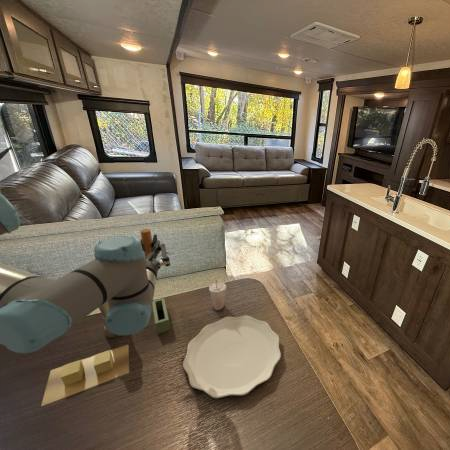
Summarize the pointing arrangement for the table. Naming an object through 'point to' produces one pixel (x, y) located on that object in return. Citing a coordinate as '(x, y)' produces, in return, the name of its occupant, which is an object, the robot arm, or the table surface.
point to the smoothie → (218, 294)
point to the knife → (146, 241)
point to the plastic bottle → (104, 310)
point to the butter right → (103, 362)
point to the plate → (232, 356)
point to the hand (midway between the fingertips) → (150, 238)
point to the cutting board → (86, 376)
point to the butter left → (72, 372)
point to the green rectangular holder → (164, 324)
